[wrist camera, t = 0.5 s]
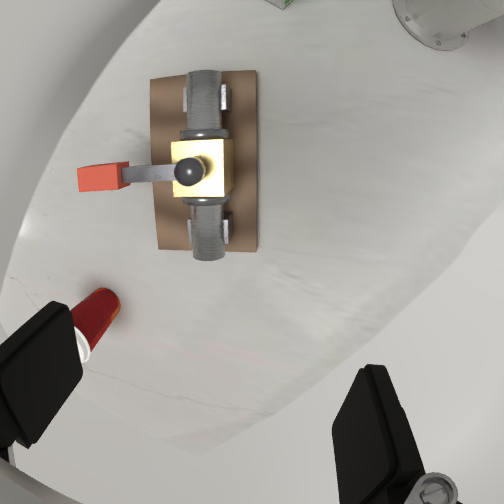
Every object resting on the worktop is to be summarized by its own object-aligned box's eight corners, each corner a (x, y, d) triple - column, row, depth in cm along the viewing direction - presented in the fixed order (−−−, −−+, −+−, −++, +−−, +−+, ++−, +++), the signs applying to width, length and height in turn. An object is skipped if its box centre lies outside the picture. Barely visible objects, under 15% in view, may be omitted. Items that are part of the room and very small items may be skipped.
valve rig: (155, 81, 37) (117, 68, 27) (256, 73, 36) (247, 51, 26) (163, 244, 46) (131, 275, 35) (257, 247, 44) (248, 281, 34)
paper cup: (86, 279, 50) (39, 319, 37) (122, 285, 49) (79, 330, 36) (93, 316, 52) (53, 361, 39) (128, 323, 52) (92, 373, 39)
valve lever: (206, 155, 30) (199, 157, 27) (207, 183, 31) (200, 187, 28) (90, 164, 31) (76, 167, 29) (92, 188, 32) (79, 193, 30)
